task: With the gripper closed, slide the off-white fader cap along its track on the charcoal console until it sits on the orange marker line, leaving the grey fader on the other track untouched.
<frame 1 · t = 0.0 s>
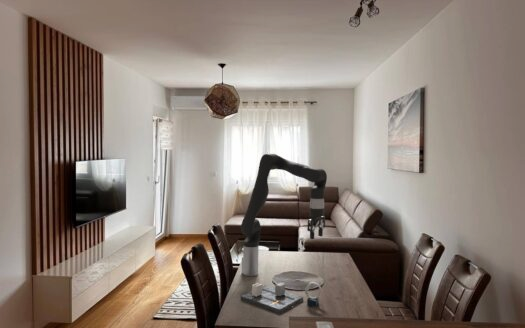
hand: (316, 237, 196), 29 cm above the table, fingers open, 8 cm apart
console: (272, 300, 185), on the table
fader grey: (280, 289, 187), point 5 cm above the table, slide at 2.0 cm
fader white: (257, 289, 186), point 5 cm above the table, slide at -6.5 cm
watch: (312, 304, 181), on the table
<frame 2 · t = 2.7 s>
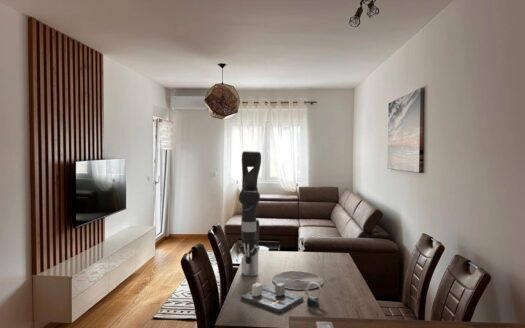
hand: (248, 263, 190), 17 cm above the table, fingers closed
nothing on the table moved.
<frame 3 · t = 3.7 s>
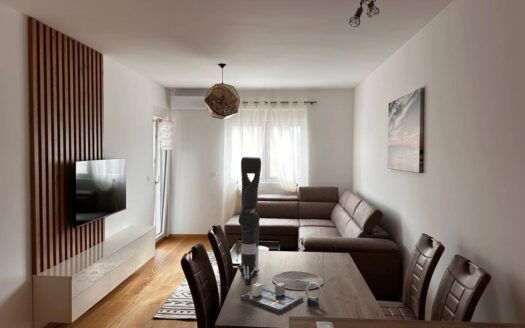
hand: (248, 285, 190), 6 cm above the table, fingers closed
nothing on the table moved.
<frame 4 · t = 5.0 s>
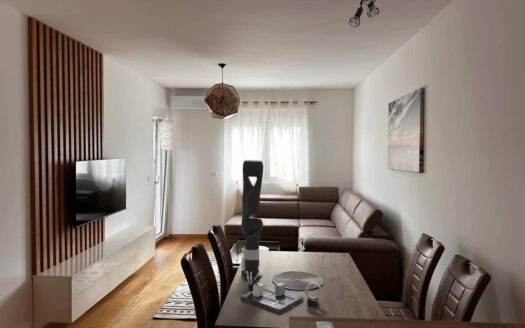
hand: (251, 291, 188), 3 cm above the table, fingers closed
fader white: (258, 289, 186), point 5 cm above the table, slide at -5.8 cm, touching gripper
everything else where it was.
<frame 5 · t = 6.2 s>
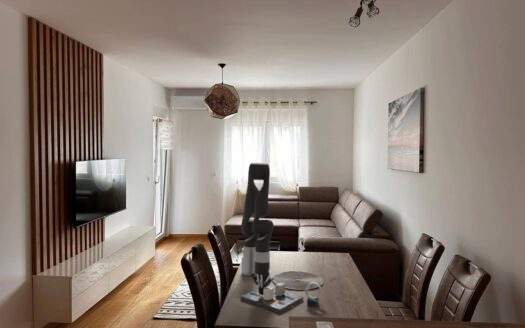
hand: (261, 294, 184), 3 cm above the table, fingers closed
fader white: (268, 293, 182), point 5 cm above the table, slide at 0.9 cm, touching gripper
everything else where it was.
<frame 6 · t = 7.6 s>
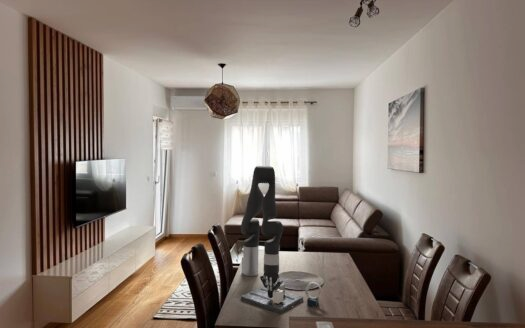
hand: (270, 297, 181), 3 cm above the table, fingers closed
fader white: (278, 296, 178), point 5 cm above the table, slide at 6.6 cm, touching gripper
everything else where it was.
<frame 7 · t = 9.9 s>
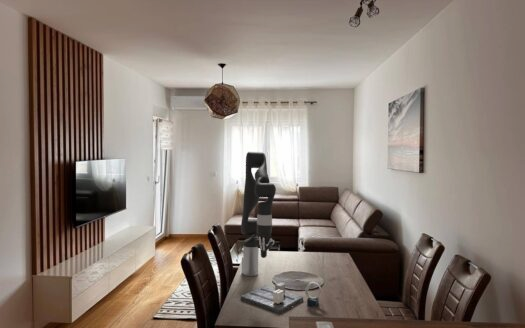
hand: (263, 257, 186), 21 cm above the table, fingers closed
fader white: (278, 296, 178), point 5 cm above the table, slide at 6.8 cm
everything else where it was.
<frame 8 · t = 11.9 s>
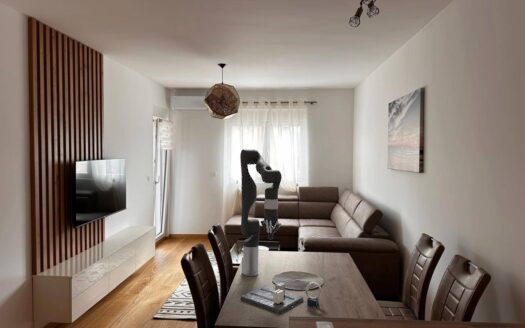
hand: (270, 239, 199), 27 cm above the table, fingers closed
nothing on the table moved.
at the end: fader white slide at 6.8 cm; fader grey slide at 2.0 cm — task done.
